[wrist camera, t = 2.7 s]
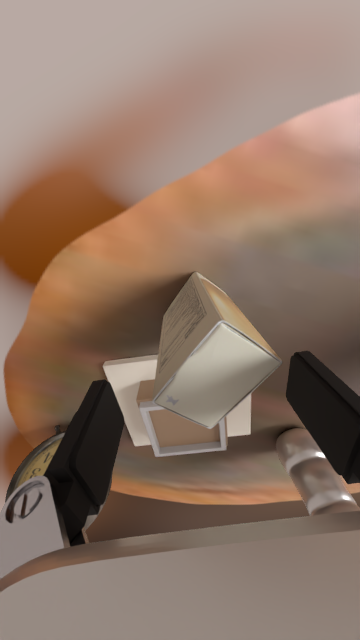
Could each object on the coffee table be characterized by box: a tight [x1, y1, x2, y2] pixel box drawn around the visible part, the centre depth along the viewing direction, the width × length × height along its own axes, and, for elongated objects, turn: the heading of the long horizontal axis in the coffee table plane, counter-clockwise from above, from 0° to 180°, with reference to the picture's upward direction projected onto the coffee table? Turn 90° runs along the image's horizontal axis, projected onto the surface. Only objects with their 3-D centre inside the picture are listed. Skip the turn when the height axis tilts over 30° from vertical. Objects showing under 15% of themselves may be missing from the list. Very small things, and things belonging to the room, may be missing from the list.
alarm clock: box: [5, 425, 112, 530], centre depth 23 cm, size 11×5×16 cm, turn 79°
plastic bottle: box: [276, 428, 360, 516], centre depth 22 cm, size 6×7×20 cm
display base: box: [103, 354, 251, 457], centre depth 25 cm, size 18×16×5 cm
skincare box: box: [152, 272, 282, 429], centre depth 16 cm, size 6×4×12 cm
